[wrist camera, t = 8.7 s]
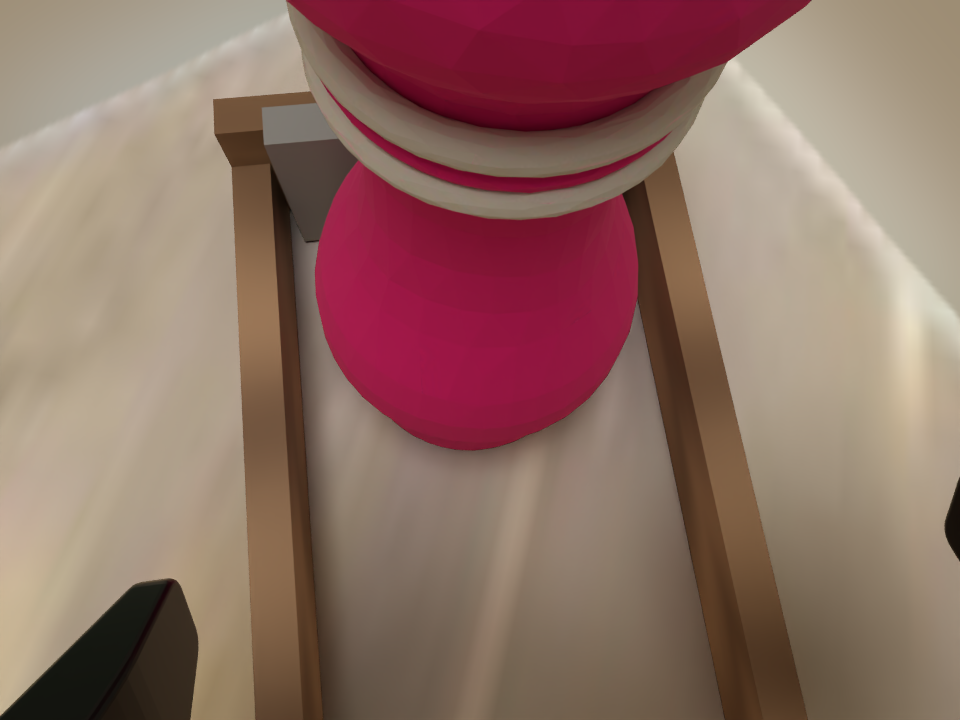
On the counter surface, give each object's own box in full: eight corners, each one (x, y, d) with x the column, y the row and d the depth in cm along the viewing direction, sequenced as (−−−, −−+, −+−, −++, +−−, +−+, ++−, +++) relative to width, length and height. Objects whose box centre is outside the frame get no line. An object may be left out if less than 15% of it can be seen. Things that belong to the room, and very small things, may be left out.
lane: (772, 755, 18) (861, 806, 14) (287, 837, 17) (242, 914, 13) (637, 147, 23) (677, 61, 19) (253, 182, 22) (213, 99, 18)
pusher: (608, 211, 22) (653, 111, 17) (304, 241, 21) (263, 145, 16) (602, 182, 22) (645, 76, 17) (302, 211, 21) (261, 107, 17)
